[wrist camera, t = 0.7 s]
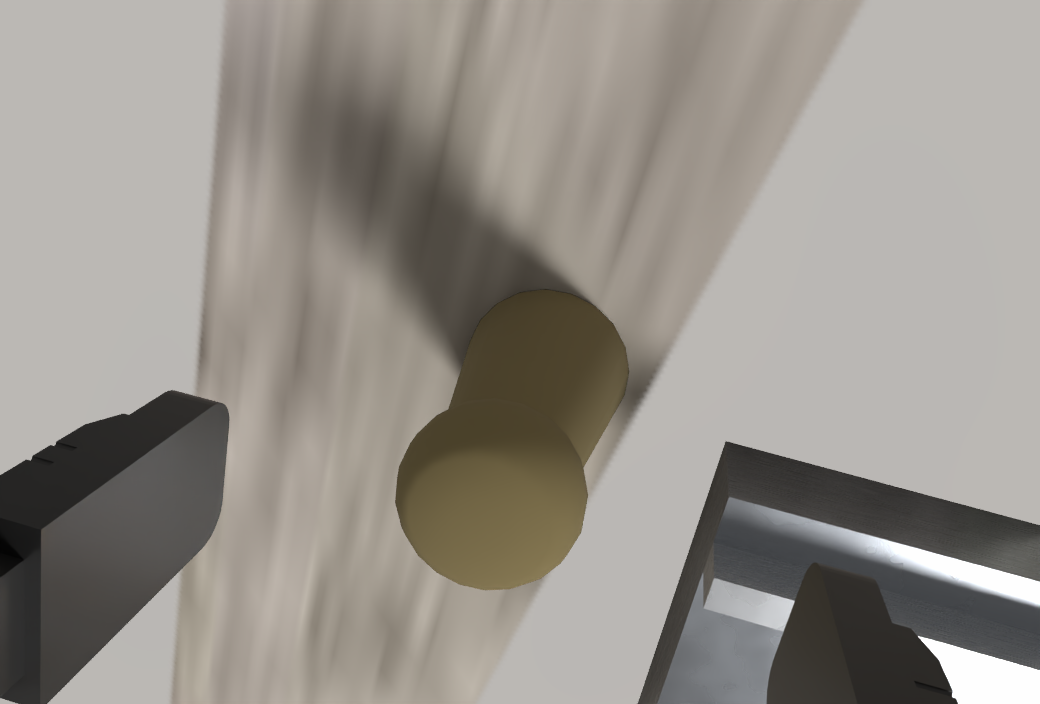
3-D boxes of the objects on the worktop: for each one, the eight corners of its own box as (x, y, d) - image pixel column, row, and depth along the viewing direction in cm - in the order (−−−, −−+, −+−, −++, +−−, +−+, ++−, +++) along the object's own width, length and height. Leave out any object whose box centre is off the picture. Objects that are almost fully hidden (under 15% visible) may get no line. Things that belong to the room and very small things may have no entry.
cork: (499, 456, 34) (413, 643, 24) (444, 314, 32) (327, 451, 22) (649, 421, 32) (625, 607, 22) (600, 269, 30) (550, 395, 20)
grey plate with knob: (725, 441, 32) (730, 530, 26) (1062, 531, 30) (1142, 645, 25) (631, 721, 37) (619, 844, 32) (914, 808, 36) (952, 951, 30)
